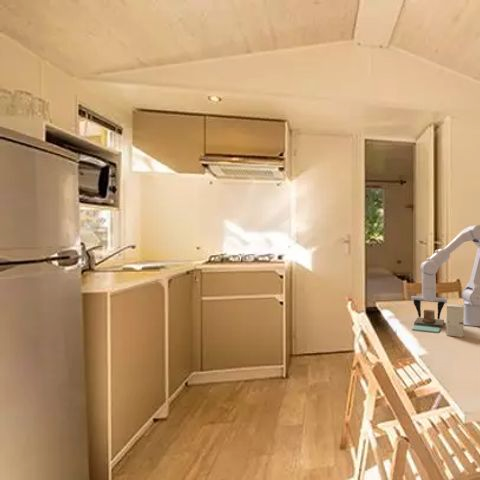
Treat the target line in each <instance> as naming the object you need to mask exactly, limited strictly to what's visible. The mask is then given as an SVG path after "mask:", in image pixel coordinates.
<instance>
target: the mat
mask: <svg viewBox="0 0 480 480" xmlns="http://www.w3.org/2000/svg"><path fill="white" fill-rule="evenodd" d="M411 331H414V332H415V331H416V332H424V333H434V334H439V333H440V331H441V328H439V327H429V326H419V325H414V324H413V327H412V328H411Z"/></svg>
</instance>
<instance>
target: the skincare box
mask: <svg viewBox="0 0 480 480" xmlns="http://www.w3.org/2000/svg"><path fill="white" fill-rule="evenodd" d="M463 321H464V304H463V305H462V304H453V303H446V331H445V332H446V336H451V337H460V338H463V337H464V325H463Z"/></svg>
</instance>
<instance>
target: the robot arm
mask: <svg viewBox="0 0 480 480" xmlns="http://www.w3.org/2000/svg"><path fill="white" fill-rule="evenodd" d="M465 242H473V243H474V244H475V246H477V249H476V254H475V259H474V262H473V265H472V269H471V274H470V277H469V278H470V279H469V281H468V282H467V284H466V285H465V287H464V289H463V290H462V292H461V298H462V299H463V300H464V301H463V306H464V321H463V326H470V327H471V326H472V327H480V224H477V225H474V224H470V225H468V226H466V227H465V228H463V230H461V231H460V232H459V233H458V234H457V235H456V236H455V237H454V238H453V239H452V240H451V241H450V242H449V243H448V244H447V245H446V246H445V247H444V248H439V249H435V251H434V253H433V254H432V255H431V256H430V257H427V258H426V260H425V261H423V262H422V263H421V264H420V266H419V271H420V272H421V296H420V295H418V296H416V295H411V296H410V301H411V302H413V305H414V307H415V308H416V312H417V315H418V318H422V310H421V304H422V303H421V302H426V303H427V302H429V303H437V318H436V319H440V318H441V312H442V310H443V308H444V306H445V304H448V298H446V297H437V280H436V279H437V278H436V276H437V275H436V274H437V273H438V270H439V268H441V266H442V265H444V263H446V262H447V261H448V260H450V258H451V253H453V252H454V251H455V250H456V249H458V248H459V247H460V246H461V245H463V244H464V243H465Z"/></svg>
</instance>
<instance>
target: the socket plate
mask: <svg viewBox="0 0 480 480" xmlns="http://www.w3.org/2000/svg"><path fill="white" fill-rule="evenodd" d="M413 323H414V324H413V326H414V325H417V326H427V327H437V328H440V329H441V328H443V325H444V323H445V320H444V319H438V318H435V323H431V322H424V317H416V319H415V321H414V322H413Z"/></svg>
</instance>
